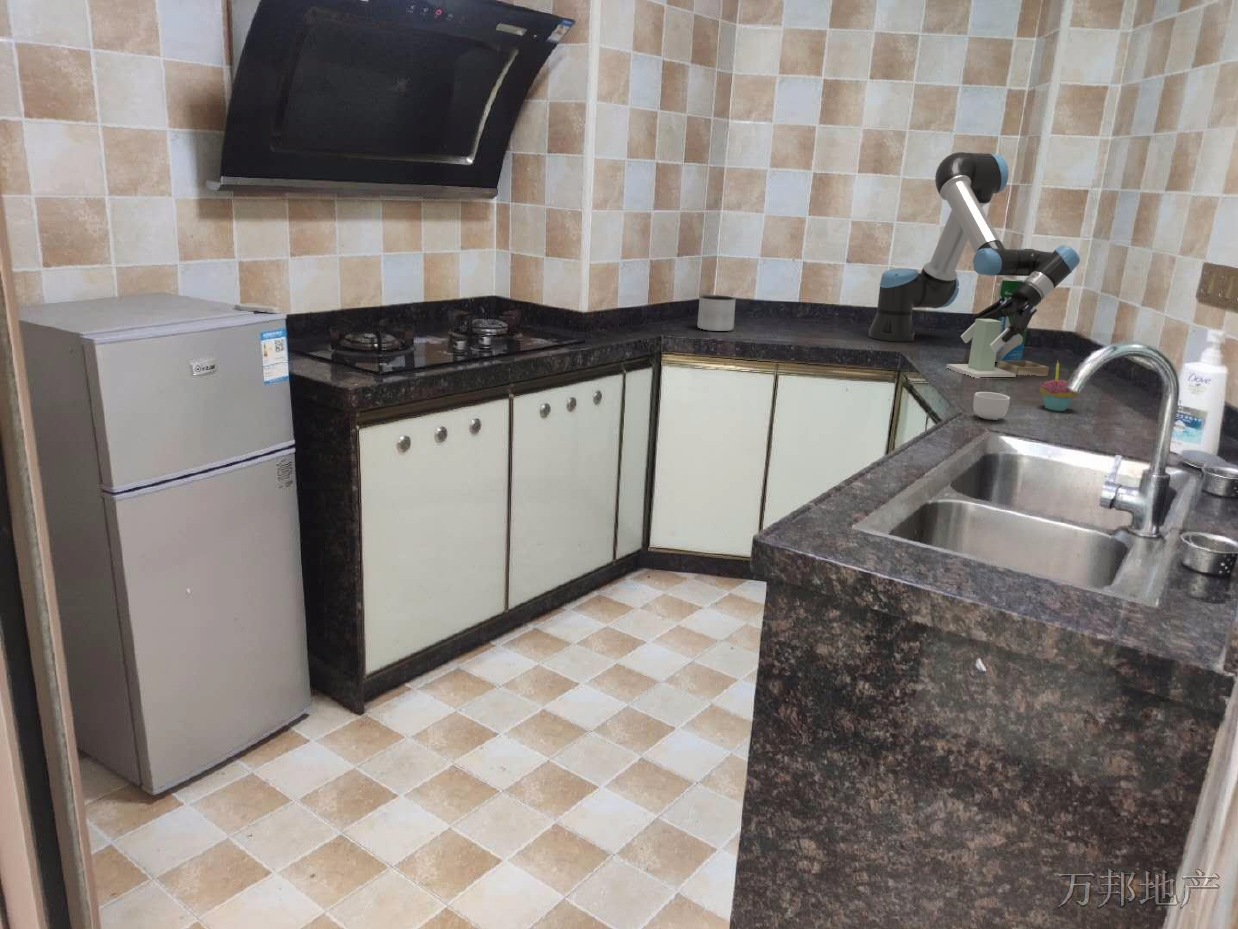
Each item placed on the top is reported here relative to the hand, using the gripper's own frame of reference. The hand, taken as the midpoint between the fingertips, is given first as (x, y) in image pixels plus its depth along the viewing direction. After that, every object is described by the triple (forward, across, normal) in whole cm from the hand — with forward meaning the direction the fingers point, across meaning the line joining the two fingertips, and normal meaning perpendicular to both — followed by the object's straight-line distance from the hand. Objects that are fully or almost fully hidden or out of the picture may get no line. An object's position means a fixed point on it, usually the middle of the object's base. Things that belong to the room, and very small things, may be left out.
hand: (977, 344), depth 264 cm
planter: (+42, -75, -30) cm, 91 cm away
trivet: (+4, 0, +8) cm, 9 cm away
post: (+3, 0, +7) cm, 8 cm away
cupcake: (+10, +41, +2) cm, 42 cm away
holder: (-6, 0, +18) cm, 18 cm away
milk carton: (-10, -16, +22) cm, 29 cm away
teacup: (+27, +47, -15) cm, 56 cm away
